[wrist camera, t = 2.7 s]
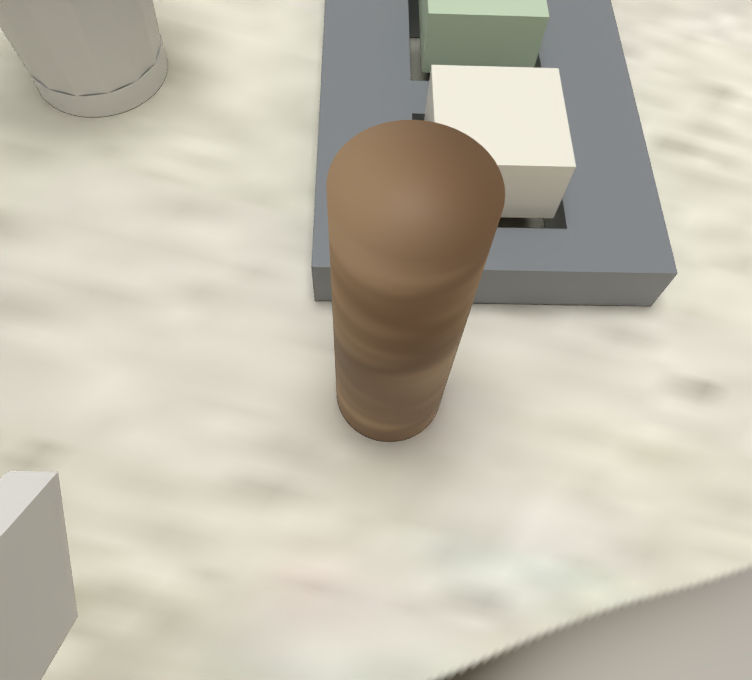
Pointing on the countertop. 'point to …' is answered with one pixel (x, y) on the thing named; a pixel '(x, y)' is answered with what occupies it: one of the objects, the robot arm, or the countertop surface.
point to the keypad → (589, 141)
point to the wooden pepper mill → (405, 266)
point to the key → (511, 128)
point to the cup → (88, 52)
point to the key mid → (481, 32)
